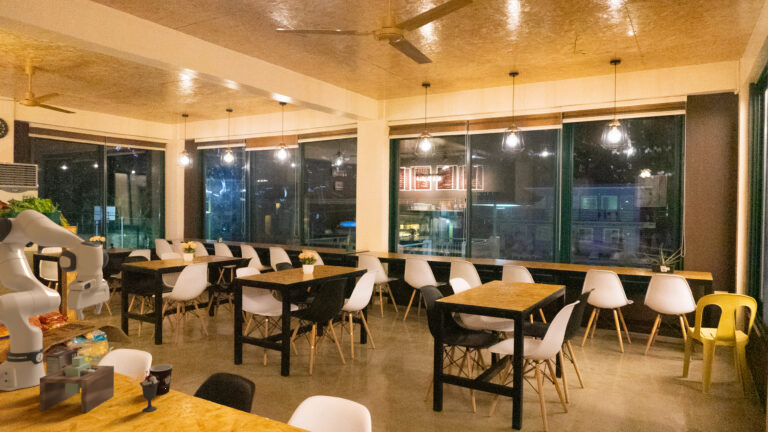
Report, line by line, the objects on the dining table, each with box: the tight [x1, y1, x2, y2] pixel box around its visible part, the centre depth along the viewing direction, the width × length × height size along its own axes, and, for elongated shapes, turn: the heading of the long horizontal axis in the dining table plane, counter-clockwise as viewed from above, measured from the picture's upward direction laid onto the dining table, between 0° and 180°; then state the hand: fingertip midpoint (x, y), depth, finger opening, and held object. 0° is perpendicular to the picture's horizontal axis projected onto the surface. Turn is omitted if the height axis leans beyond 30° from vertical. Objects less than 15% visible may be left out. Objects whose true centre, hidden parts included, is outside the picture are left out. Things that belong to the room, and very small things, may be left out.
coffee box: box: [45, 349, 78, 375], centre depth 198 cm, size 9×6×16 cm
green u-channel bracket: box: [65, 355, 92, 395], centre depth 187 cm, size 5×7×12 cm
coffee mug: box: [148, 363, 173, 396], centre depth 198 cm, size 12×9×10 cm
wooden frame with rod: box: [39, 364, 115, 414], centre depth 187 cm, size 18×16×13 cm
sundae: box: [139, 370, 160, 413], centre depth 182 cm, size 7×7×15 cm
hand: (89, 316), depth 196 cm, fingers open, 8 cm apart
